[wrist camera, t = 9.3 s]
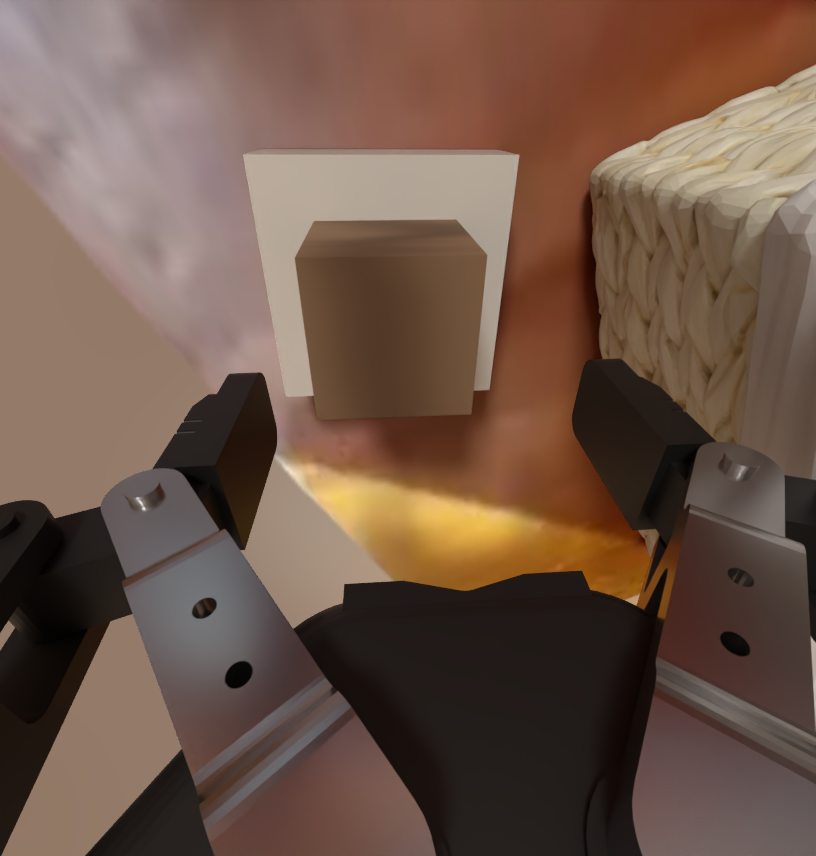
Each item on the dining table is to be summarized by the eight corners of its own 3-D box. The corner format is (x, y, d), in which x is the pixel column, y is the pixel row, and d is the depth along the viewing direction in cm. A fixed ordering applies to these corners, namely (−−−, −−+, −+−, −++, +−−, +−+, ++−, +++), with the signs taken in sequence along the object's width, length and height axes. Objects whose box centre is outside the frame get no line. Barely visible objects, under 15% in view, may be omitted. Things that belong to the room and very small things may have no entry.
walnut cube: (456, 219, 16) (487, 254, 12) (448, 349, 19) (471, 414, 14) (314, 221, 15) (294, 258, 11) (328, 352, 18) (317, 420, 14)
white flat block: (497, 149, 17) (519, 154, 15) (476, 360, 22) (489, 390, 20) (261, 149, 17) (243, 154, 14) (295, 365, 22) (285, 396, 19)
